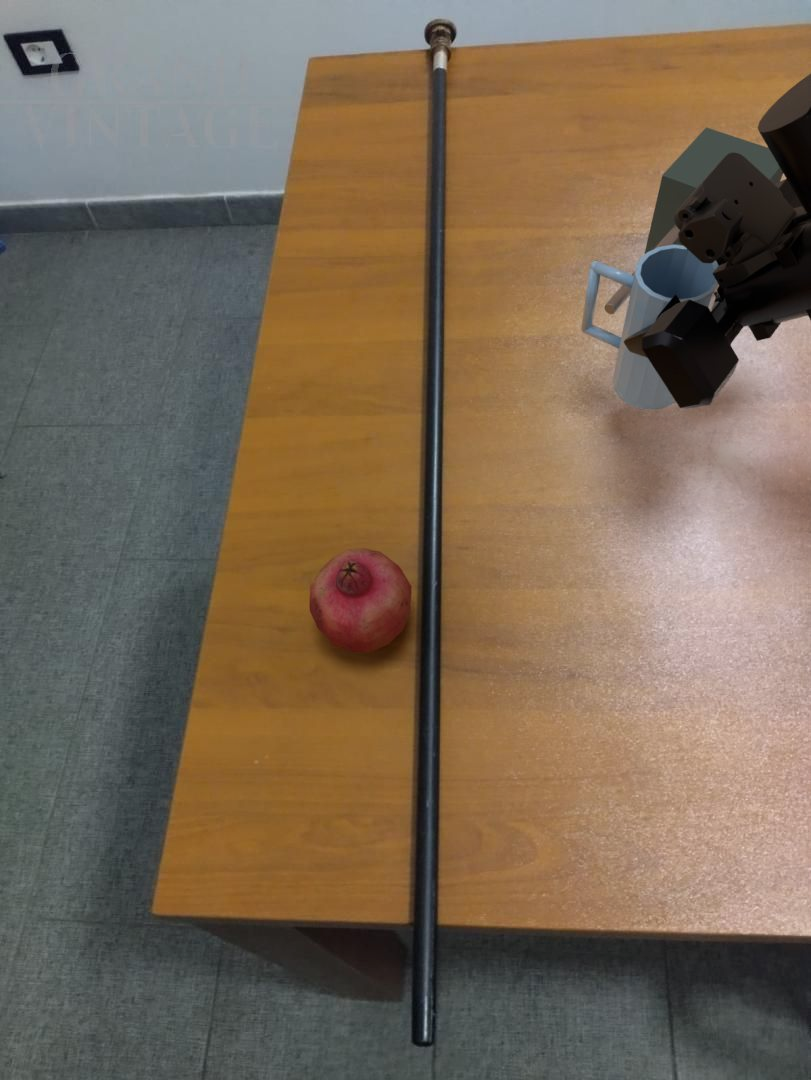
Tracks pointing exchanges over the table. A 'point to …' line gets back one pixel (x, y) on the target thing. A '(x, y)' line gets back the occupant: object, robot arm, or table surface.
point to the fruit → (360, 600)
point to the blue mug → (648, 314)
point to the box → (694, 187)
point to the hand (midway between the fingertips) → (648, 320)
